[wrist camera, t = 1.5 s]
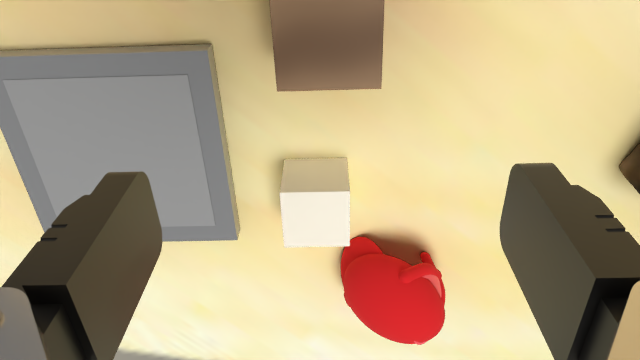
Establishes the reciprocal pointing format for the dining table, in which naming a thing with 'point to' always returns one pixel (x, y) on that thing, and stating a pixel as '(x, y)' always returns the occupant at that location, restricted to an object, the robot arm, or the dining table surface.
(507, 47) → the dining table surface
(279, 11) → the walnut block
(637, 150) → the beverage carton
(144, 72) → the plate
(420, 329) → the red rounded lumpy piece
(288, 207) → the cream block
